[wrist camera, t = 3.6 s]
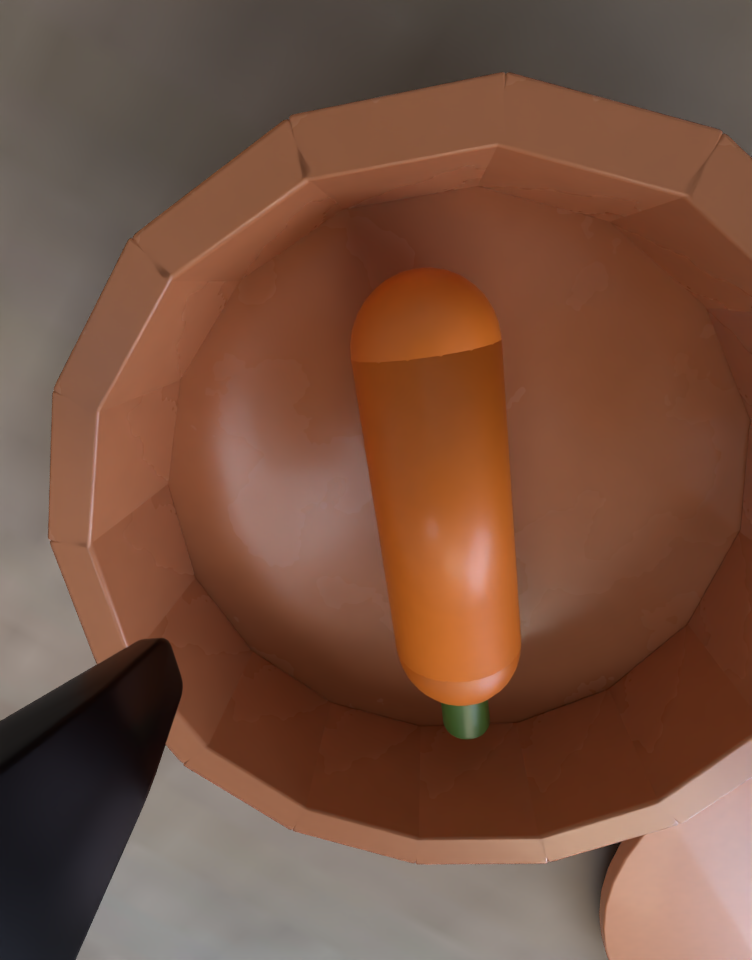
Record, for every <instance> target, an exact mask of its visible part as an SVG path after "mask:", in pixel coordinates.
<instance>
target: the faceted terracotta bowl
mask: <svg viewBox="0 0 752 960" xmlns="http://www.w3.org/2000/svg"><path fill="white" fill-rule="evenodd" d="M428 267H432V268H439V269H445V270H449V271H451V272H454V273H456V274H459V275H461V276H463V277H464V278H466V279H467V280H469V281H470V282H472V283H473V284H475V285H476V286H477V287H478V288H479V289H480V290H481V291H482V292H483V294H484V295H485V296H486V297H487V299H488V301H489V302H490V304H491V305H492V307H493V309H494V311H495V314H496V317H497V319H498V322H499V327H500V333H501V338H502V350H503V366H504V382H505V397H506V413H507V428H508V444H509V459H510V475H511V491H512V506H513V522H514V537H515V553H516V569H517V584H518V600H519V615H520V631H521V653H520V658H519V662H518V665H517V668H516V671H515V672H514V674H513V676H512V678H511V679H510V681H509V682H508V684H507V685H506V686H505V687H504V688H503V689H502V690H501V691H500V692H498V693H497V694H496V695H494V696H493V697H491V698H490V699H488V704H489V715H490V724H489V727H488V729H487V731H486V732H485V733H484V734H483V735H481V736H480V737H478V738H475V739H459V738H456V737H454V736H453V735H451V734H450V733H449V732H448V731H447V730H446V728H445V726H444V723H443V716H442V708H441V702H438V701H436V700H434V699H432V698H430V697H429V696H427V695H425V694H424V693H423V692H421V691H420V690H419V689H418V688H417V687H416V686H415V685H414V684H413V683H412V682H411V680H410V679H409V678H408V676H407V675H406V673H405V671H404V669H403V668H402V665H401V663H400V660H399V656H398V653H397V648H396V642H395V636H394V629H393V623H392V617H391V610H390V604H389V598H388V591H387V585H386V579H385V572H384V566H383V560H382V553H381V547H380V541H379V534H378V528H377V522H376V515H375V509H374V503H373V496H372V490H371V484H370V477H369V471H368V465H367V458H366V452H365V446H364V439H363V433H362V427H361V420H360V414H359V408H358V401H357V395H356V389H355V382H354V376H353V370H352V363H351V352H350V341H351V333H352V328H353V325H354V322H355V319H356V316H357V313H358V312H359V310H360V308H361V306H362V305H363V303H364V301H365V300H366V299H367V297H368V296H369V295H370V294H371V293H372V292H373V290H374V289H375V288H376V287H378V286H379V285H380V284H382V283H383V282H384V281H385V280H387V279H388V278H390V277H392V276H394V275H396V274H398V273H400V272H403V271H407V270H411V269H415V268H428ZM48 538H49V539H50V540H51V541H50V544H51V547H52V550H53V552H54V555H55V557H56V560H57V563H58V565H59V568H60V570H61V573H62V576H63V578H64V581H65V583H66V586H67V589H68V591H69V594H70V596H71V599H72V602H73V604H74V607H75V609H76V612H77V614H78V617H79V620H80V622H81V625H82V627H83V630H84V633H85V635H86V638H87V640H88V643H89V646H90V648H91V651H92V653H93V656H94V659H95V661H96V664H99V663H100V662H102V661H104V660H106V659H107V658H109V657H111V656H112V655H114V654H116V653H118V652H119V651H121V650H123V649H124V648H126V647H128V646H130V645H131V644H133V643H135V642H136V641H138V640H141V639H150V638H165V639H167V640H168V641H169V642H170V644H171V646H172V649H173V652H174V655H175V658H176V661H177V664H178V667H179V670H180V674H181V677H182V681H183V691H182V696H181V700H180V703H179V706H178V709H177V712H176V715H175V718H174V721H173V724H172V727H171V730H170V733H169V736H168V739H167V742H166V746H167V747H168V748H169V749H170V750H171V751H172V752H173V754H174V755H175V756H176V757H177V758H178V759H179V760H180V762H182V763H184V766H185V767H187V768H189V769H190V770H192V771H194V772H195V773H197V774H199V775H200V776H202V777H203V778H205V779H207V780H208V781H210V782H212V783H213V784H215V785H217V786H218V787H220V788H222V789H223V790H225V791H227V792H228V793H230V794H232V795H233V796H235V797H237V798H238V799H240V800H241V801H243V802H245V803H246V804H248V805H250V806H251V807H253V808H255V809H256V810H258V811H260V812H261V813H263V814H265V815H266V816H268V817H270V818H271V819H273V820H275V821H276V822H278V823H280V824H281V825H283V826H284V827H286V828H288V829H289V830H292V829H293V831H295V832H299V833H302V834H306V835H310V836H313V837H317V838H321V839H325V840H328V841H332V842H336V843H339V844H343V845H347V846H351V847H354V848H358V849H362V850H365V851H369V852H373V853H376V854H380V855H384V856H388V857H391V858H395V859H399V860H402V861H406V862H410V863H416V864H546V863H547V862H548V861H549V862H553V861H556V860H560V859H563V858H567V857H570V856H574V855H577V854H580V853H584V852H587V851H591V850H594V849H598V848H601V847H605V846H608V845H611V844H615V843H618V842H622V841H625V840H629V839H632V838H635V837H639V836H642V835H646V834H649V833H653V832H656V831H660V830H663V829H666V828H670V827H673V826H677V825H678V824H679V823H681V824H682V823H684V822H686V821H687V820H689V819H690V818H692V817H693V816H695V815H696V814H698V813H699V812H701V811H702V810H704V809H705V808H707V807H708V806H710V805H711V804H713V803H714V802H716V801H717V800H719V799H720V798H722V797H723V796H725V795H726V794H728V793H729V792H731V791H732V790H734V789H735V788H737V787H738V786H740V785H741V784H743V783H744V782H746V781H747V780H749V779H750V778H752V158H751V157H750V156H749V155H748V154H747V153H746V152H745V151H744V150H743V149H742V148H741V147H740V146H738V145H737V144H736V143H735V142H734V141H733V140H732V139H731V138H730V137H729V136H728V135H727V134H722V131H721V130H720V129H716V128H713V127H709V126H705V125H702V124H698V123H694V122H691V121H687V120H683V119H680V118H676V117H672V116H669V115H665V114H661V113H658V112H654V111H650V110H647V109H643V108H639V107H636V106H632V105H628V104H624V103H621V102H617V101H613V100H610V99H606V98H602V97H599V96H595V95H591V94H588V93H584V92H580V91H577V90H573V89H569V88H566V87H562V86H558V85H555V84H551V83H547V82H544V81H540V80H536V79H533V78H529V77H525V76H522V75H518V74H514V73H511V72H509V73H506V74H505V73H503V72H499V73H494V74H489V75H484V76H480V77H475V78H470V79H465V80H460V81H455V82H450V83H445V84H440V85H435V86H430V87H425V88H420V89H415V90H411V91H406V92H401V93H396V94H391V95H386V96H381V97H376V98H371V99H366V100H361V101H356V102H351V103H346V104H342V105H337V106H332V107H327V108H322V109H317V110H312V111H307V112H302V113H297V114H292V115H291V116H290V117H289V119H286V120H283V121H282V122H280V123H279V124H278V125H276V126H275V127H274V128H272V129H271V130H270V131H269V132H267V133H266V134H265V135H263V136H262V137H261V138H259V139H258V140H257V141H255V142H254V143H253V144H252V145H250V146H249V147H248V148H246V149H245V150H244V151H242V152H241V153H240V154H238V155H237V156H236V157H235V158H233V159H232V160H231V161H229V162H228V163H227V164H225V165H224V166H223V167H221V168H220V169H219V170H218V171H216V172H215V173H214V174H212V175H211V176H210V177H208V178H207V179H206V180H204V181H203V182H202V183H201V184H199V185H198V186H197V187H195V188H194V189H193V190H191V191H190V192H189V193H187V194H186V195H185V196H184V197H182V198H181V199H180V200H178V201H177V202H176V203H174V204H173V205H172V206H170V207H169V208H168V209H167V210H165V211H164V212H163V213H161V214H160V215H159V216H157V217H156V218H155V219H154V220H152V221H151V222H150V223H148V224H147V225H146V226H144V227H143V228H142V229H140V230H139V231H138V232H137V233H135V234H134V236H133V238H130V239H129V240H128V241H127V243H126V245H125V247H124V249H123V251H122V253H121V255H120V257H119V259H118V261H117V263H116V265H115V267H114V269H113V271H112V273H111V275H110V277H109V279H108V281H107V283H106V285H105V287H104V289H103V291H102V293H101V295H100V297H99V299H98V301H97V303H96V305H95V307H94V309H93V311H92V313H91V315H90V317H89V319H88V321H87V323H86V325H85V327H84V329H83V331H82V333H81V335H80V337H79V339H78V341H77V343H76V345H75V347H74V349H73V350H72V352H71V354H70V356H69V358H68V360H67V362H66V364H65V366H64V368H63V370H62V372H61V374H60V376H59V378H58V380H57V382H56V384H55V386H54V391H53V393H52V423H51V456H50V490H49V523H48ZM678 822H679V823H678Z"/></svg>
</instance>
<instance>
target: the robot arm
mask: <svg viewBox="0 0 752 960" xmlns="http://www.w3.org/2000/svg"><path fill="white" fill-rule="evenodd" d="M182 691H183V681H182V677H181V674H180V670H179V667H178V664H177V661H176V658H175V655H174V652H173V649H172V646H171V644H170V642H169V641H168V640H167V639H165V638H150V639H141V640H138V641H136V642H135V643H133V644H131V645H130V646H128V647H126V648H124V649H123V650H121V651H119V652H118V653H116V654H114V655H112V656H111V657H109V658H107V659H106V660H104V661H102V662H100V663H99V664H97V665H95V666H94V667H92V668H90V669H88V670H87V671H85V672H83V673H82V674H80V675H78V676H77V677H75V678H73V679H71V680H70V681H68V682H66V683H65V684H63V685H61V686H59V687H58V688H56V689H54V690H53V691H51V692H49V693H47V694H46V695H44V696H42V697H41V698H39V699H37V700H35V701H34V702H32V703H30V704H29V705H27V706H25V707H24V708H22V709H20V710H18V711H17V712H15V713H13V714H12V715H10V716H8V717H6V718H5V719H3V720H1V721H0V960H76V957H77V955H78V953H79V950H80V948H81V946H82V944H83V941H84V939H85V937H86V935H87V932H88V930H89V928H90V926H91V923H92V921H93V919H94V916H95V914H96V912H97V910H98V907H99V905H100V903H101V901H102V898H103V896H104V894H105V892H106V889H107V887H108V885H109V883H110V880H111V878H112V876H113V873H114V871H115V869H116V867H117V864H118V862H119V860H120V858H121V855H122V853H123V851H124V849H125V846H126V844H127V842H128V839H129V837H130V835H131V833H132V830H133V828H134V826H135V824H136V821H137V819H138V817H139V815H140V812H141V810H142V808H143V805H144V803H145V801H146V798H147V796H148V793H149V791H150V788H151V785H152V783H153V780H154V777H155V775H156V772H157V769H158V766H159V763H160V760H161V757H162V754H163V751H164V748H165V745H166V742H167V739H168V736H169V733H170V730H171V727H172V724H173V721H174V718H175V715H176V712H177V709H178V706H179V703H180V700H181V696H182Z"/></svg>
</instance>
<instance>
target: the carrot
mask: <svg viewBox="0 0 752 960" xmlns="http://www.w3.org/2000/svg"><path fill="white" fill-rule="evenodd" d="M350 352H351V363H352V370H353V376H354V382H355V389H356V395H357V401H358V408H359V414H360V420H361V427H362V433H363V439H364V446H365V452H366V458H367V465H368V471H369V477H370V484H371V490H372V496H373V503H374V509H375V515H376V522H377V528H378V534H379V541H380V547H381V553H382V560H383V566H384V572H385V579H386V585H387V591H388V598H389V604H390V610H391V617H392V623H393V629H394V636H395V642H396V648H397V653H398V656H399V660H400V663H401V665H402V668H403V669H404V671H405V673H406V675H407V676H408V678H409V679H410V680H411V682H412V683H413V684H414V685H415V686H416V687H417V688H418V689H419V690H420V691H421V692H423V693H424V694H425V695H427V696H429V697H430V698H432V699H434V700H436V701H438V702H441V708H442V716H443V723H444V726H445V728H446V730H447V731H448V732H449V733H450V734H451V735H453V736H454V737H456V738H459V739H475V738H478V737H480V736H481V735H483V734H484V733H485V732H486V731H487V729H488V727H489V724H490V715H489V704H488V699H490V698H491V697H493V696H494V695H496V694H497V693H498V692H500V691H501V690H502V689H503V688H504V687H505V686H506V685H507V684H508V682H509V681H510V679H511V678H512V676H513V674H514V672H515V671H516V668H517V665H518V662H519V658H520V653H521V631H520V615H519V600H518V584H517V569H516V553H515V537H514V522H513V506H512V491H511V475H510V459H509V444H508V428H507V413H506V397H505V382H504V366H503V350H502V338H501V333H500V327H499V322H498V319H497V317H496V314H495V311H494V309H493V307H492V305H491V304H490V302H489V301H488V299H487V297H486V296H485V295H484V294H483V292H482V291H481V290H480V289H479V288H478V287H477V286H476V285H475V284H473V283H472V282H470V281H469V280H467V279H466V278H464V277H463V276H461V275H459V274H456V273H454V272H451V271H449V270H445V269H439V268H432V267H428V268H415V269H411V270H407V271H403V272H400V273H398V274H396V275H394V276H392V277H390V278H388V279H387V280H385V281H384V282H383V283H382V284H380V285H379V286H378V287H376V288H375V289H374V290H373V292H372V293H371V294H370V295H369V296H368V297H367V299H366V300H365V301H364V303H363V305H362V306H361V308H360V310H359V312H358V313H357V316H356V319H355V322H354V325H353V328H352V333H351V341H350Z"/></svg>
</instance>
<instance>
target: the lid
mask: <svg viewBox="0 0 752 960" xmlns="http://www.w3.org/2000/svg"><path fill="white" fill-rule="evenodd" d="M678 823H679V822H678ZM599 918H600V927H601V936H602V940H603V943H604V947H605V951H606V954H607V957H608V960H752V778H750V779H749V780H747V781H746V782H744V783H743V784H741V785H740V786H738V787H737V788H735V789H734V790H732V791H731V792H729V793H728V794H726V795H725V796H723V797H722V798H720V799H719V800H717V801H716V802H714V803H713V804H711V805H710V806H708V807H707V808H705V809H704V810H702V811H701V812H699V813H698V814H696V815H695V816H693V817H692V818H690V819H689V820H687V821H686V822H684V823H682V824H681V823H679V824H678V825H677V826H673V827H670V828H666V829H663V830H660V831H656V832H653V833H649V834H646V835H642V836H639V837H635V838H632V839H629V840H625V841H622V842H621V844H620V845H619V847H618V849H617V851H616V853H615V855H614V857H613V859H612V861H611V863H610V865H609V867H608V870H607V873H606V877H605V880H604V883H603V887H602V890H601V899H600V910H599Z"/></svg>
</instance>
